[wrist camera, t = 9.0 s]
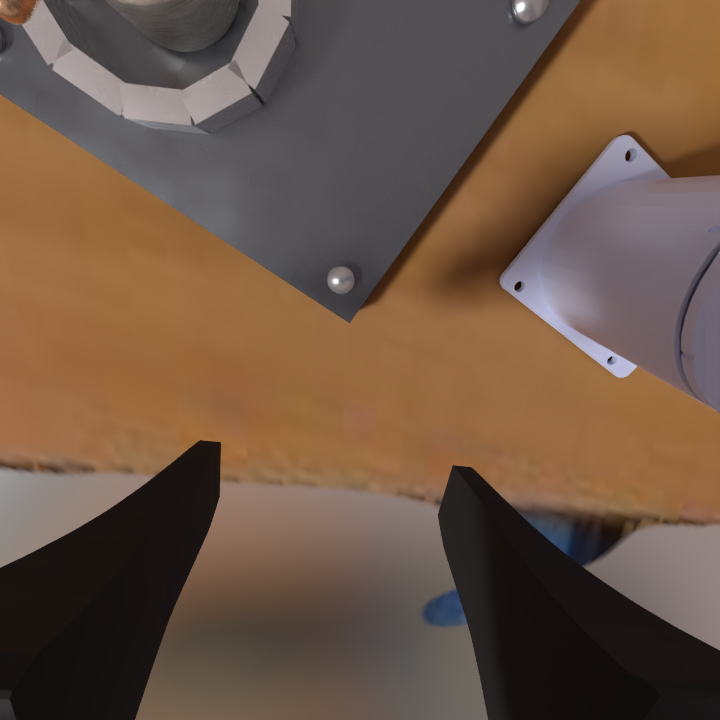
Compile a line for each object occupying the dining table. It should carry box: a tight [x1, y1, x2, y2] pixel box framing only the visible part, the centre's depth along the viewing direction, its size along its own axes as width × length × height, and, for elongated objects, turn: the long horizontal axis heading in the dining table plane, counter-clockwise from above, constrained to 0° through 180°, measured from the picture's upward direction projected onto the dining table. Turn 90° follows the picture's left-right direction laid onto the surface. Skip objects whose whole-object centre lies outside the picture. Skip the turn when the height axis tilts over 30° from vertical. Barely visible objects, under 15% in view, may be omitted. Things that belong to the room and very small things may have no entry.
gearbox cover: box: [0, 0, 580, 323], centre depth 14 cm, size 18×15×4 cm
